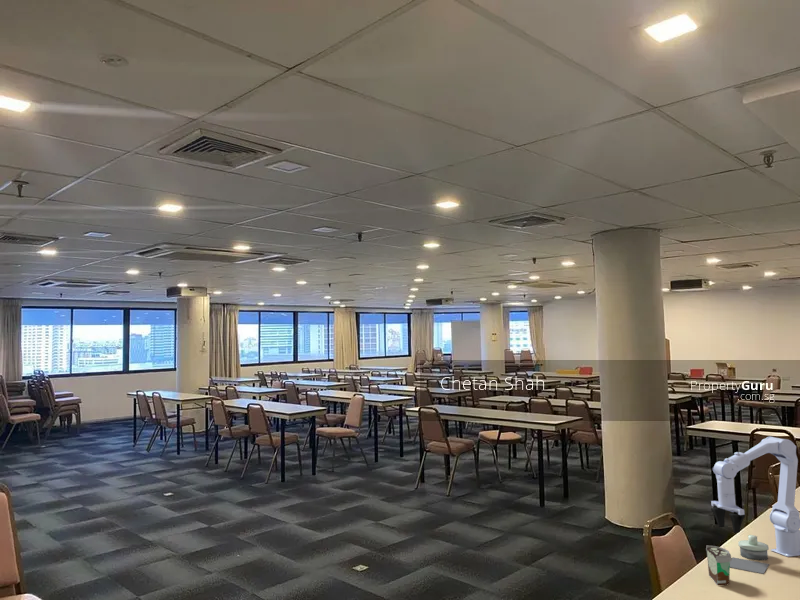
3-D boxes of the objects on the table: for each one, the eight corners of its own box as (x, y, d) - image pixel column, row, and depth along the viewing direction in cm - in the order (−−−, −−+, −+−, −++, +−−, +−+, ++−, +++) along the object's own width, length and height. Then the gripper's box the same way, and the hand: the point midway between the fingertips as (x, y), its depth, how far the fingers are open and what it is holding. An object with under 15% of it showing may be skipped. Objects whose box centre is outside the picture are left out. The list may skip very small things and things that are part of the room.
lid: (753, 541, 233) (752, 531, 233) (775, 549, 223) (774, 538, 223) (732, 544, 230) (731, 533, 231) (753, 552, 221) (752, 541, 221)
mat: (732, 558, 225) (732, 557, 225) (769, 564, 217) (769, 563, 217) (725, 566, 216) (725, 566, 216) (763, 574, 208) (763, 573, 208)
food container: (739, 588, 196) (736, 557, 197) (718, 587, 197) (716, 556, 198) (726, 574, 208) (724, 545, 209) (707, 573, 209) (705, 544, 210)
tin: (754, 551, 232) (753, 542, 232) (773, 559, 223) (772, 549, 223) (735, 553, 230) (734, 544, 230) (753, 561, 221) (753, 551, 221)
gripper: (703, 490, 235) (706, 525, 234) (732, 498, 221) (735, 536, 220) (718, 488, 237) (721, 523, 235) (747, 497, 223) (750, 534, 221)
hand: (728, 529), depth 228 cm, fingers open, 7 cm apart
